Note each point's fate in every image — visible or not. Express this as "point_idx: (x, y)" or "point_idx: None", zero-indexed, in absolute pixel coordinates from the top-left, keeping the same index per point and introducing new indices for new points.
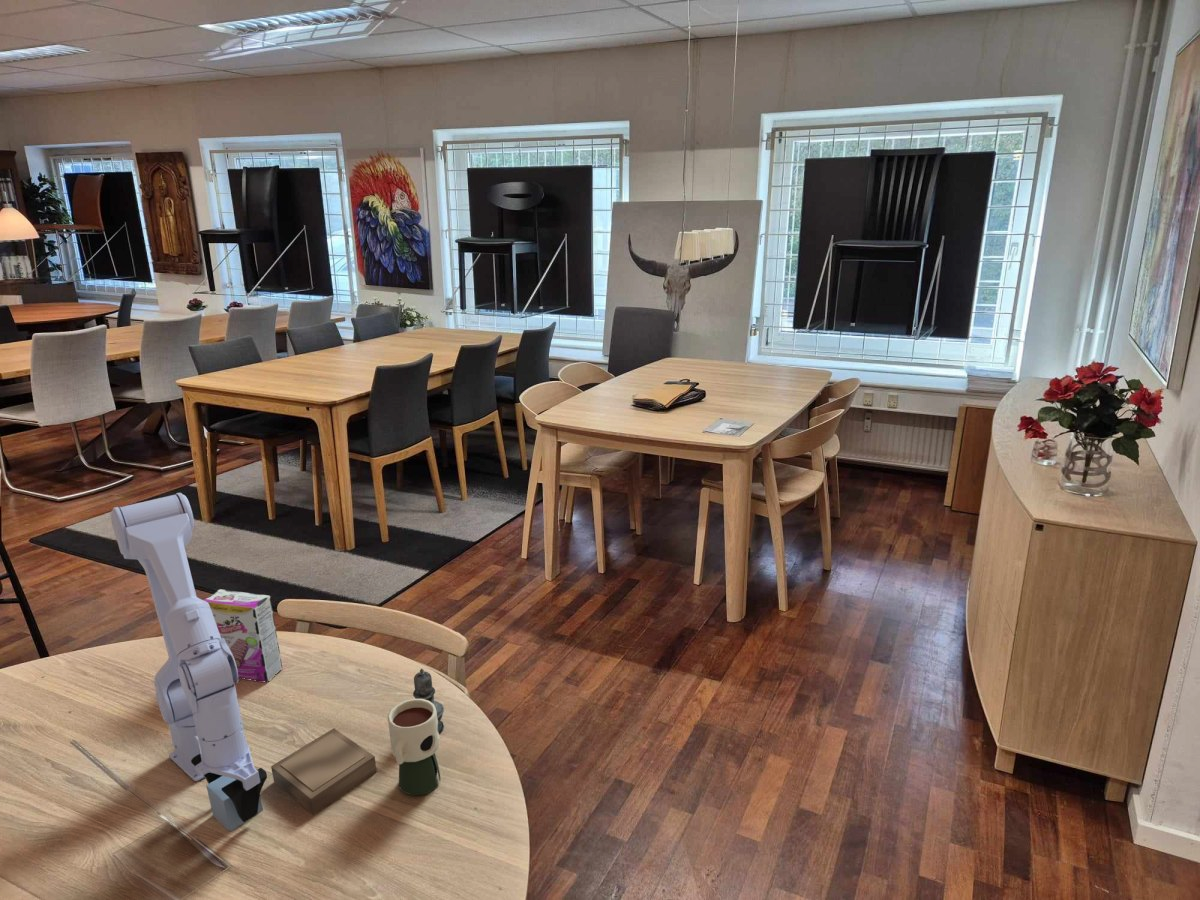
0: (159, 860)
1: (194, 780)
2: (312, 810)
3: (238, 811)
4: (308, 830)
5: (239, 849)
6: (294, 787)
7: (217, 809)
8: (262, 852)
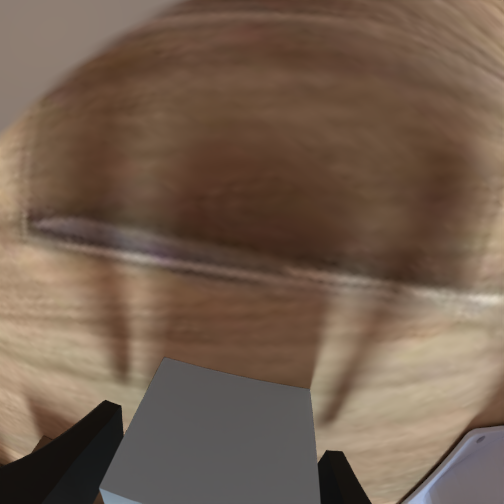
0: (317, 109)
1: (476, 429)
2: (40, 445)
3: (64, 437)
4: (11, 398)
5: (60, 304)
6: (97, 502)
7: (238, 429)
8: (9, 317)
